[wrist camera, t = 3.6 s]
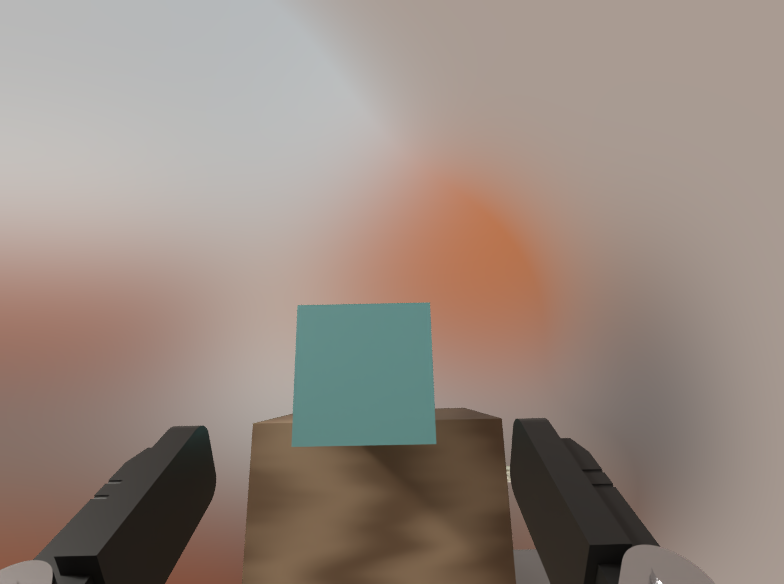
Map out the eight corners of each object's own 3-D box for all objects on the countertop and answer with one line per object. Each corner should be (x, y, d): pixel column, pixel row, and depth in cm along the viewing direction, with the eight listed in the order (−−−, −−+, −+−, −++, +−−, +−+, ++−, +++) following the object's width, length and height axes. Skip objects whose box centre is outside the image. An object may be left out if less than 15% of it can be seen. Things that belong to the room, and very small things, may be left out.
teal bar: (407, 405, 34) (406, 360, 35) (436, 443, 10) (430, 302, 11) (363, 406, 34) (363, 361, 35) (291, 447, 10) (297, 305, 11)
